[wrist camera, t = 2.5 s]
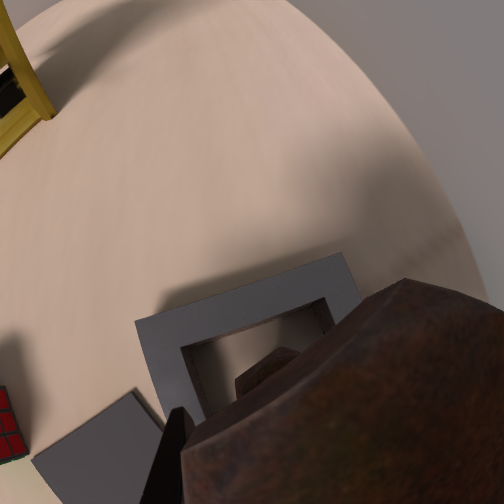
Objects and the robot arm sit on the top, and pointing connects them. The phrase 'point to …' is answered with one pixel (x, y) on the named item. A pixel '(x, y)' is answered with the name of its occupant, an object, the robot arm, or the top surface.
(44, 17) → the top surface
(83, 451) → the rubber mat
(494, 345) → the bolt
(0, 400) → the puzzle
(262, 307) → the grey flat square frame
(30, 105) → the vintage telephone
